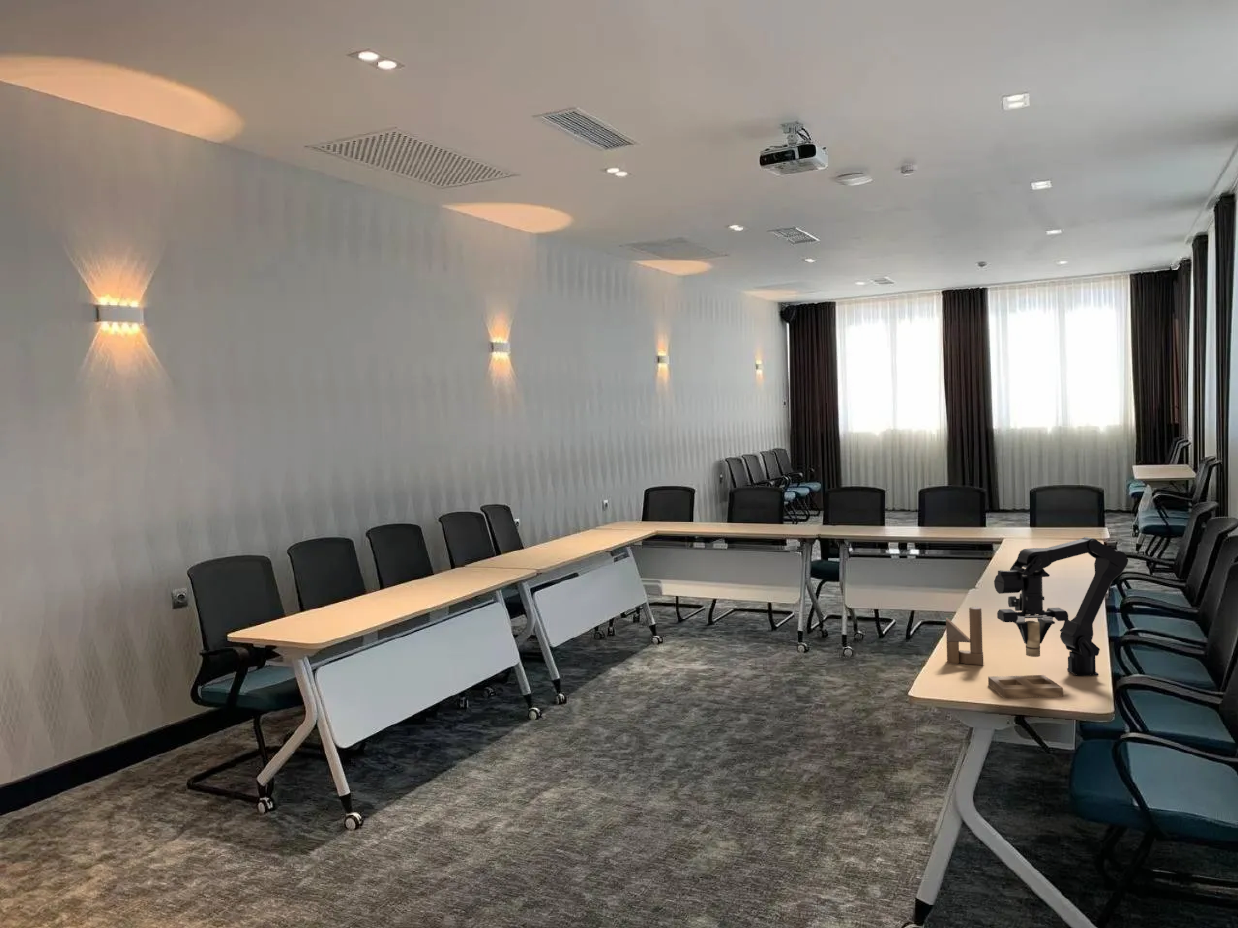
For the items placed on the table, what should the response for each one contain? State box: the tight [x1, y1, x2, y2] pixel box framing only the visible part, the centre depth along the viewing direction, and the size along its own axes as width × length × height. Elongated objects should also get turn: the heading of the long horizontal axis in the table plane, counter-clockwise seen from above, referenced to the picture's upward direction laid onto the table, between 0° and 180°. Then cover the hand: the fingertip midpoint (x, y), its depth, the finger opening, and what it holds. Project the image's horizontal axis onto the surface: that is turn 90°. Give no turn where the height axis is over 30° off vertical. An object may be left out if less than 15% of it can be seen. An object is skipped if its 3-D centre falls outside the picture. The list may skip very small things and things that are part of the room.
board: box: [987, 674, 1064, 699], centre depth 248 cm, size 16×12×2 cm
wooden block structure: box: [945, 606, 984, 666], centre depth 277 cm, size 4×11×18 cm, turn 68°
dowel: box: [1025, 620, 1041, 658], centre depth 260 cm, size 4×4×10 cm
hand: (1032, 643), depth 260 cm, fingers closed on dowel, 4 cm apart
